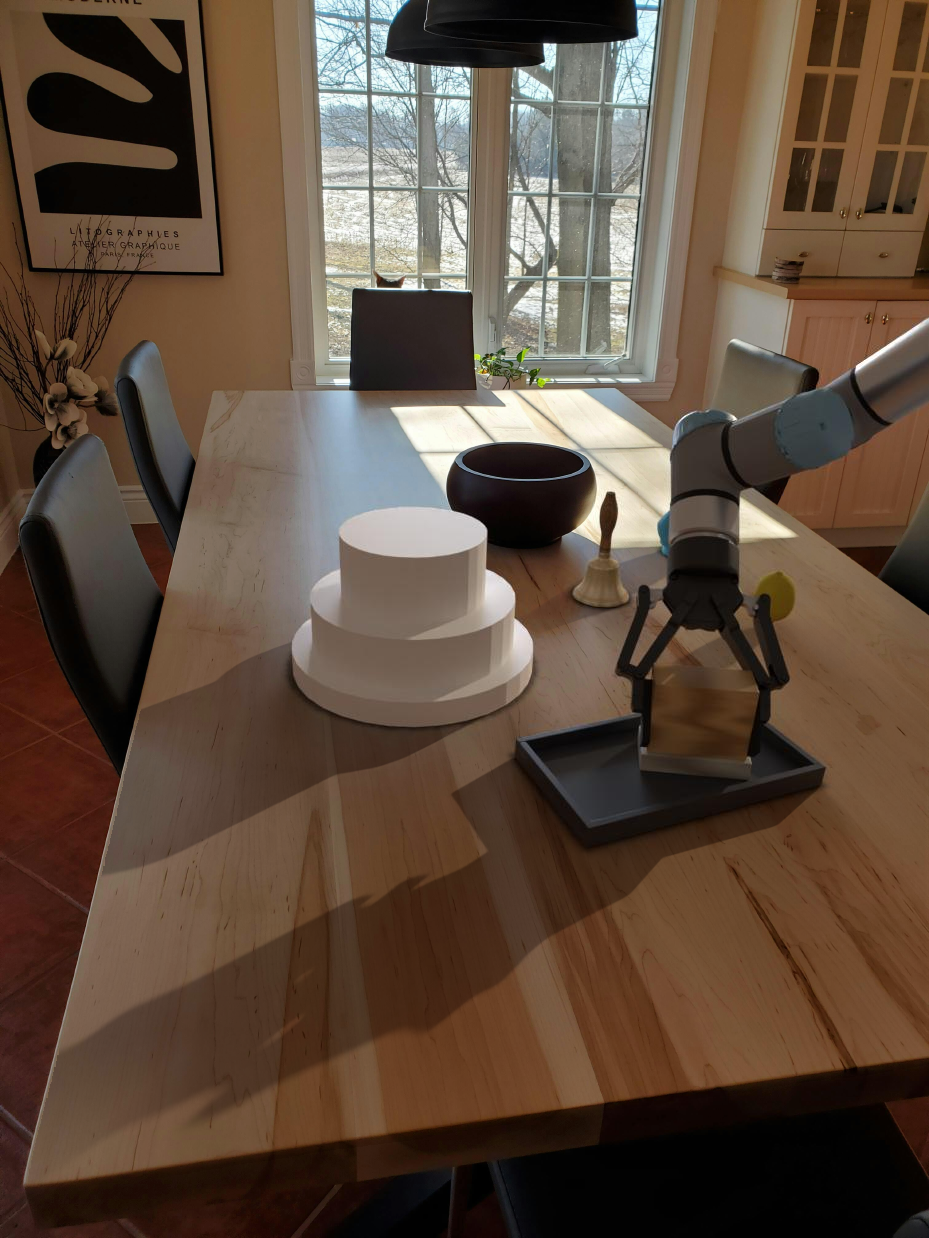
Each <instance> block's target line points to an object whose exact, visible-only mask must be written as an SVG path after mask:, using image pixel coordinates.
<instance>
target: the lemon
mask: <svg viewBox="0 0 929 1238" xmlns="http://www.w3.org/2000/svg"><path fill="white" fill-rule="evenodd" d="M795 585H796V584H795V583H794V581H793V580H792V578H791V577H789V576H788V575H787V574H785V573H784V572H783V571H782V570H776V571H773V572H769V573H767V574H765V575H763V576H762V577H761V578H760V580H759V581H758V582H757V584H756V586H755V589H754V592H753V596H756V597H759V596H760V595H761V594H768V595H769V596H770V598H771V605H770V617H771V620H772V623H773V624H774V623H775V622H779V621H782V620H784V619H786V618H788V616H789V615H790V614H791V612H792V611H793V609H794V607H795V603H796V600H797V599H796V598H797V593H796V592H797V590H796V586H795Z"/></svg>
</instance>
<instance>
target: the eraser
mask: <svg viewBox="0 0 929 1238" xmlns="http://www.w3.org/2000/svg"><path fill="white" fill-rule="evenodd" d="M650 675H651V676H650V679H653V680H652V704H651V732H650V743H649V745H648V746H647V747H640V726H639V731H638V738H637V745H638V757H639V769H640V770H645V771H655V772H666V773H676V774H687V775H697V776H708V777H718V778H729V779H740V780H749V777H750V772H751V767H752V763H751V759H750V757H747V754H748V749H749V744H750V738H751V733H752V728H753V723H754V718H755V713H756V708H757V703H758V697H759V690H758V687H757V684H756V681H755V678H754V675H753V672H752V671H747V670H742V669H735V668H733V669H732V668H722V667H710V666H697V665H687V664H685V665H683V664H674V663H661V662H660V663H659V662H656V663H653V666H652V669H651V674H650Z"/></svg>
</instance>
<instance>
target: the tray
mask: <svg viewBox="0 0 929 1238" xmlns="http://www.w3.org/2000/svg"><path fill="white" fill-rule="evenodd" d="M640 725H641V713H631V714H626V715H622V716H617V717H612V718H606V719H602V720H598V721H594V722H588V723H584V724H579V725H575V726H574V725H573V726H569V727H564V728H560V729H555V730H550V731H546V732H540V733H536V734H532V735H528V736H523V737H518V738H515V744H514V758H515V759H516V760H517V762H518V764H520V765H521V767H522V768H523V769H524V771H525V772H526V773H527V774H528V776H529V777H530V778H531V780H532V781H533V782H534V784H535V785H536V786H537V787H538V789H539V790H540V791H541V792H542V793H543V795H544V796H545V797H546V799H547V800H548V801H549V802H550V804H551V805H552V806H553V807H554V809H555V810H556V811H557V813H558V814H559V815H560V816H561V818H562V819H563V820H564V821H565V823H566V824H567V825H568V826H569V828H570V829H571V830H572V832H573V833H574V834H575V835H576V837H577V838H578V839H579V840H580V842H581V843H582V844H583V846H585V848H586V849H588V848H592V847H595V846H599V845H603V844H606V843H610V842H615V841H618V840H623V839H626V838H629V837H633V836H637V835H641V834H644V833H648V832H652V831H655V830H659V829H663V828H667V827H670V826H674V825H678V824H681V823H686V822H689V821H693V820H696V819H700V818H704V817H708V816H711V815H716V814H719V813H723V812H726V811H731V810H734V809H737V808H742V807H746V806H750V805H753V804H757V803H760V802H764V801H767V800H773V799H775V798H779V797H783V796H786V795H790V794H793V793H794V794H795V793H798V792H801V791H805V790H809V789H812V788H813V789H814V788H816V787H820V786H822V785H823V781H824V778H825V773H826V769H827V766H825V764H823V763H822V762H821V761H819V760H818V759H816V758H815V757H814V756H813V755H811V754H810V753H809V752H807V751H806V750H805V749H803V748H802V747H801V746H800V745H799V744H797V743H796V742H795V741H793V740H792V739H791V738H789V737H788V736H787V735H785V734H784V733H783V732H781V731H780V730H779V729H777V728H776V727H775V726H774V725H773V724H771V723H770V722H769V721H768V722H767V723H766V724H760V753H759V754H757V755H756V756H755V757H750V759H751V763H752V767H751V772H750V777H749V780H740V779H729V778H718V777H708V776H697V775H687V774H676V773H666V772H655V771H645V770H640V769H639V757H638V745H637V738H638V731H639V726H640Z"/></svg>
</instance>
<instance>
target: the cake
mask: <svg viewBox="0 0 929 1238" xmlns="http://www.w3.org/2000/svg"><path fill="white" fill-rule="evenodd" d="M338 542H339V543H338V547H339V549H338V550H339V551H338V552H339V568H338V569H335V570H333V571H331V572H329V573H328V574H327V575H325V576H323V577H321V578H320V579H319V580H318V581H317V582H316V583H315V584H314V585H313V587H312V588H311V591H310V594H309V600H310V601H309V602H310V605H309V607H310V618H309V619H308V620H306V621H305V622H304V623H303V624H302V625H301V626H300V627H299V628H298V629H297V631H296V632H295V634H294V636H293V638H292V641H291V660H292V675H293V678H294V680H295V683H296V685H297V687H298V688H299V690H300V691H301V692H302V693H303V694H304V695H305V696H306V697H307V698H308V699H309V700H311V701H313V703H315V704H316V705H318V706H319V707H320V708H323V709H324V710H327V711H329V712H331V713H334V714H335V715H338V716H341V717H344V718H347V719H351V720H355V721H358V722H360V723H366V724H374V725H379V726H387V727H402V728H403V727H405V728H422V727H437V726H445V725H451V724H456V723H462V722H467V721H470V720H473V719H477V718H479V717H483V716H486V715H489V714H491V713H493V712H495V711H498V710H499V709H501V708H503V707H505V706H507V705H509V703H511V702H512V701H513V700H515V699H516V698H517V697H519V696H520V695H521V693H522V692H523V691H524V690H525V688H527V686H528V684H529V683H530V679H531V676H532V673H533V661H534V644H533V642H534V641H533V639H532V636H531V635H530V632H529V631H528V629H527V628H526V627H525V626H524V625H523V624H522V623H521V622H520V621H519V620H518V619H516V618H515V614H516V592H515V591H514V589H513V587H512V585H511V584H510V583H509V582H508V581H506V579H505V578H504V577H502V576H500V575H499V574H497V573H495V572H494V571H492V570H489V569H487V550H488V547H487V545H488V528H487V527H486V526H485V524H484V523H483V522H481V521H480V520H479V519H477V518H475V517H473V516H470V515H468V514H465V513H462V512H458V511H455V510H450V509H444V508H439V507H438V508H437V507H428V506H396V507H395V506H394V507H386V508H380V509H373V510H370V511H365V512H362V513H359V514H357V515H354V516H352V517H349V518H348V519H346V520H345V521H344V522H343V523H342V524H341V525H340V527H339V528H338Z"/></svg>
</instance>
